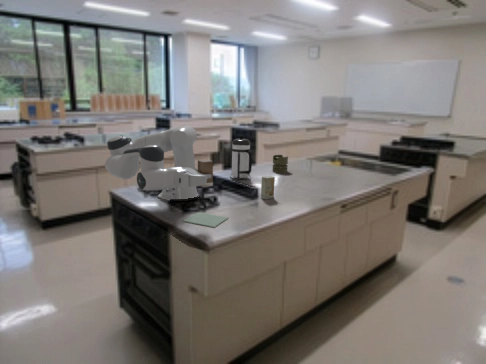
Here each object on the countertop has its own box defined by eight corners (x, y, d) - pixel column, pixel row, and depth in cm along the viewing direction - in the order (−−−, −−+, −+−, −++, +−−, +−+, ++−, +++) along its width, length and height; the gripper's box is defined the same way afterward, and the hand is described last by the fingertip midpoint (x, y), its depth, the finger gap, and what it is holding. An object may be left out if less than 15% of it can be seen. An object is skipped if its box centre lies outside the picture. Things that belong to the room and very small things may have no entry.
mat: (183, 221, 153) (183, 220, 153) (198, 213, 165) (198, 212, 165) (214, 227, 147) (214, 226, 147) (228, 218, 159) (228, 217, 158)
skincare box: (265, 199, 189) (266, 178, 186) (260, 197, 193) (261, 176, 190) (274, 197, 193) (275, 176, 190) (269, 196, 196) (270, 175, 193)
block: (208, 159, 152) (208, 183, 155) (197, 160, 150) (197, 184, 153) (212, 161, 148) (212, 185, 151) (202, 162, 146) (202, 187, 148)
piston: (280, 157, 253) (270, 155, 261) (279, 173, 256) (269, 171, 264) (291, 156, 260) (280, 154, 268) (290, 171, 262) (279, 169, 271)
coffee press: (226, 180, 232) (226, 135, 224) (233, 175, 246) (234, 133, 239) (250, 182, 227) (252, 137, 219) (257, 177, 241) (258, 134, 234)
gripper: (169, 179, 154) (198, 176, 161) (186, 190, 137) (217, 186, 143) (169, 165, 152) (198, 163, 159) (186, 174, 135) (217, 171, 142)
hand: (207, 174), depth 151 cm, fingers closed on block, 5 cm apart
